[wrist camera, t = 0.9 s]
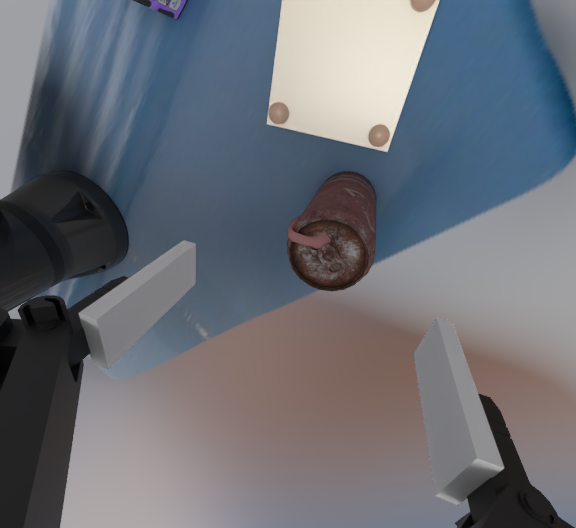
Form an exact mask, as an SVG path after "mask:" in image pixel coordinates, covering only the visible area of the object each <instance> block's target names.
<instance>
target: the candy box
mask: <svg viewBox="0 0 576 528" xmlns="http://www.w3.org/2000/svg"><path fill="white" fill-rule="evenodd" d="M133 1H136V2H138V3H140V4H142V5H144V6H147V7H149V8H151V9H154V10H156V11H158V12H160V13H163V14H165V15H167V16H169V17H172V18H174V19H177V18H178V16H179V14H180V12H181V10H182V9H183V7H184V5H185V3H186V1H187V0H133Z"/></svg>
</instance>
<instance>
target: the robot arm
mask: <svg viewBox="0 0 576 528" xmlns="http://www.w3.org/2000/svg"><path fill="white" fill-rule="evenodd" d="M127 248H128V236H127V231H126V228H125V224H124V222H123V219H122V217H121V215H120V213H119V212H118V210H117V208H116V207H115V205H114V204H113V202H112V201H111V200H110V199H109V197H108V196H107V195H106V194H105V193H104V192H103V191H102V190H101V189H100V188H99V187H98V186H97V185H95V184H94V183H93V182H91V181H90V180H88V179H87V178H85V177H83V176H81V175H79V174H76V173H73V172H69V171H57V172H52V173H47V174H43V175H40V176H38V177H36V178H34V179H32V180H31V181H29V182H28V183H26V184H25V185H23V186H21V187H20V188H18V189H17V190H15V191H14V192H12V193H11V194H9V195H7V196H6V197H4V198H3V199H1V200H0V528H60V522H61V515H62V509H63V502H64V495H65V488H66V482H67V475H68V468H69V461H70V454H71V447H72V441H73V434H74V427H75V419H76V413H77V406H78V400H79V393H80V386H81V379H82V372H83V366H84V365H83V359H84V358H85V357H86V356H87V355H88V354H90V356H91V359H92V363H94V364H97V365H99V366H102V367H105V368H107V369H109V368H110V367H111V366H112V365H113V364H114V363H115V362H116V361H117V360H118V359H119V358H120V357H121V356H122V355H123V354H124V353H125V352H126V351H127V350H128V349H129V348H130V347H131V346H132V345H133V344H135V343H136V342H137V341H138V340H139V339H140V338H141V337H142V336H143V335H144V334H145V333H146V332H147V331H148V330H149V329H150V328H151V327H152V326H153V325H154V324H155V323H156V322H157V321H158V320H159V319H160V318H161V317H162V316H163V315H164V314H165V313H166V312H167V311H168V310H169V309H170V308H171V307H172V306H173V305H174V304H175V303H176V302H177V301H178V300H179V299H180V298H181V297H182V296H183V295H184V294H185V293H186V292H188V291H189V290H190V289H191V288H192V287H193V286H194V285H195V284H196V244H195V243H191V242H188V241H185V240H183V241H182V242H180V243H179V244H177V245H176V246H174V247H173V248H172V249H170V250H169V251H167V252H166V253H164V254H163V255H161V256H160V257H159V258H157V259H156V260H154V261H153V262H151V263H150V264H148V265H147V266H146V267H144V268H143V269H141V270H140V271H138V272H137V273H136V274H134V275H133V276H131V277H130V278H128V277H125V276H123V277H120V278H117V279H114V280H111V281H110V282H108V283H107V284H105V285H104V286H102V288H99V289H98V290H96V291H95V292H94V293H92V294H90V295H89V296H87V297H86V298H84V299H83V300H81V301H80V302H78V303H76V304H75V305H73V306H72V307H70V308H69V309H67V308H66V305H65V302H64V300H63V299H62V298H61V297H58V296H41V297H36V298H34V299H31V298H33V297H35V296H36V295H38V294H40V293H42V292H43V291H45V290H47V289H49V288H50V287H52V286H54V285H56V284H58V283H59V282H61V281H64V280H68V279H73V278H77V277H82V276H86V275H91V274H95V273H100V272H103V271H106V270H108V269H110V268H111V267H113V266H115V265H116V264H118V263H119V262H121V261H122V260H123V258H124V257H125V255H126V252H127ZM29 299H31V300H29ZM28 300H29V301H28ZM26 301H27V302H26ZM24 302H25V303H24ZM22 303H24V304H22ZM21 304H22V305H21ZM19 305H21V306H20V308H19V309H18V312H19V315H20V317H21V319H22V320H20V319H11V318H10V316H9V314H8V311H10V310H12V309H13V308H15V307H17V306H19ZM414 359H415V366H416V373H417V379H418V385H419V392H420V399H421V405H422V412H423V418H424V425H425V431H426V438H427V444H428V451H429V458H430V464H431V471H432V477H433V484H434V490H435V496H437V497H439V498H442V499H444V500H447V501H449V502H452V503H454V504H457V505H459V504H460V503H461V502H463V501H464V500H465V499H466V498H468V503H469V507H470V511H471V512H469V513H468V514H466V515H465V516H464V517H462V518H461V519H460V520H458V521H457V522H456V523H455V524H456V525H457V526H458V527H457V528H574V527H572V526H571V525H569V524H568V523H567V522H565V521H564V520H562V519H561V518H560V517H558V515H557V513H556V511H555V510H554V508H553V506H552V505H551V503H550V502H549V501H548V500H547V499H546V497H545V496H544V495H543V494H542V493H541V492H540V491H539V490H537V489H536V488H535V487H533V486H532V485H531V484H530V482H529V480H528V477H527V475H526V472H525V470H524V468H523V465H522V463H521V460H520V458H519V455H518V453H517V451H516V448H515V446H514V443H513V441H512V439H510V433H509V431H508V428H507V427H506V424H505V421H504V419H503V416H502V414H501V412H500V410H499V409H498V407H497V406H496V405H495V403H494V402H493V401H492V399H491V398H490V397H487V396H484V395H481V394H478V392H477V389H476V387H475V384H474V381H473V378H472V376H471V373H470V370H469V367H468V364H467V361H466V359H465V356H464V353H463V350H462V347H461V344H460V342H459V339H458V336H457V333H456V331H455V328H454V325H453V322H452V321H449V320H445V319H442V318H439V317H436V318H435V320H434V322H433V323H432V325H431V327H430V328H429V330H428V331H427V333H426V335H425V336H424V338H423V340H422V341H421V343H420V345H419V346H418V348H417V349H416V351H415V353H414Z"/></svg>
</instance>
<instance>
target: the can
mask: <svg viewBox="0 0 576 528" xmlns="http://www.w3.org/2000/svg"><path fill="white" fill-rule="evenodd" d="M287 233H288V237H289V238H288V241H287V251H288V256H289V260H290V263H291V266H292V269H293V270H294V272H295V273H296V274H297V275H298V277H299V278H300V279H301V280H303V281H304V282H305V283H307V284H308V285H309V286H312V287H314V288H317V289H319V290H326V291H338V290H344V289H346V288H348V287H351V286H353V285H355V284H356V283H357V282H358V281H360V280H361V279H362V278H363V277H364V276H365V275H366V274H367V273H368V271H369V269H370V268H371V266H372V264H373V262H374V255H375V236H376V195H375V191H374V188H373V187H372V185H371V183H370V182H369V181H368V180H367V179H366V178H364V177H363V176H362V175H359V174H357V173H354V172H342V173H338V174H335V175H333V176H332V177H330V178H329V179H327V180H326V181H325V183H324V184H323V185H322V187H321V188H320V189H319V191H318V192H317V194H316V195H315V197H314V198H313V199H312V201H311V202H310V204H309V205H308V206H307V208H306V209H305V211H304V212H303V214H302V215H301V216H300V215H299V216H298V217H296V218H295V219H294V220H293V221H292V222H291V224H290V226H289V228H288V230H287Z"/></svg>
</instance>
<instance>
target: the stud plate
mask: <svg viewBox="0 0 576 528" xmlns="http://www.w3.org/2000/svg"><path fill="white" fill-rule="evenodd" d="M439 1H440V0H282V5H281V13H280V21H279V29H278V37H277V45H276V53H275V61H274V70H273V78H272V86H271V94H270V102H269V110H268V118H267V124H268V125H273V126H277V127H281V128H286V129H290V130H294V131H298V132H303V133H307V134H311V135H316V136H320V137H324V138H329V139H333V140H337V141H342V142H346V143H350V144H355V145H359V146H363V147H368V148H372V149H376V150H380V151H385V152H388V149H389V146H390V143H391V140H392V137H393V134H394V131H395V128H396V125H397V123H398V120H399V117H400V114H401V111H402V108H403V105H404V102H405V99H406V96H407V94H408V91H409V88H410V85H411V82H412V79H413V76H414V73H415V70H416V67H417V65H418V62H419V59H420V56H421V53H422V50H423V47H424V44H425V41H426V38H427V36H428V33H429V30H430V27H431V24H432V21H433V18H434V15H435V12H436V9H437V6H438V4H439Z"/></svg>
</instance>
